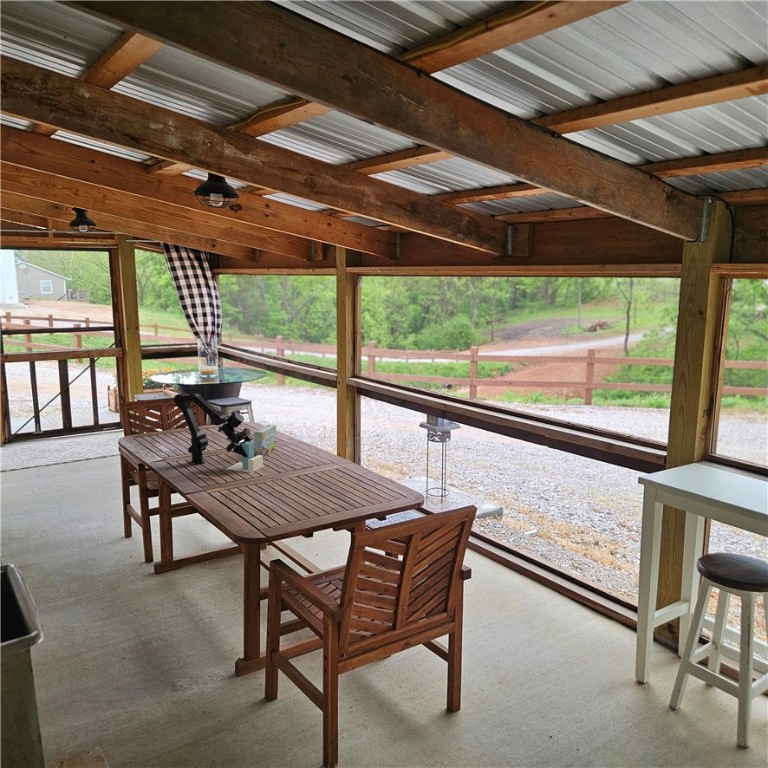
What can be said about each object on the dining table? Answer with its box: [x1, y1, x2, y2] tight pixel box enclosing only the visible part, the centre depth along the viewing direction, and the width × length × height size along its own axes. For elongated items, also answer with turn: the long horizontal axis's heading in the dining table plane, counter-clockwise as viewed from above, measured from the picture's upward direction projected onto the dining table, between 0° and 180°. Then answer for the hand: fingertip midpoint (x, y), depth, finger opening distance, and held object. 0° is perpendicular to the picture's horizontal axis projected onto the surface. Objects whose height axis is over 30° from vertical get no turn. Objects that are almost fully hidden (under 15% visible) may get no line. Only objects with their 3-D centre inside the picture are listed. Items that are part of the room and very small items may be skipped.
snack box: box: [253, 424, 277, 458], centre depth 366 cm, size 21×6×15 cm, turn 168°
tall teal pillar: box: [241, 441, 254, 469], centre depth 333 cm, size 4×5×13 cm
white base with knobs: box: [225, 455, 265, 474], centre depth 334 cm, size 15×14×7 cm
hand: (249, 455), depth 333 cm, fingers closed on tall teal pillar, 5 cm apart
